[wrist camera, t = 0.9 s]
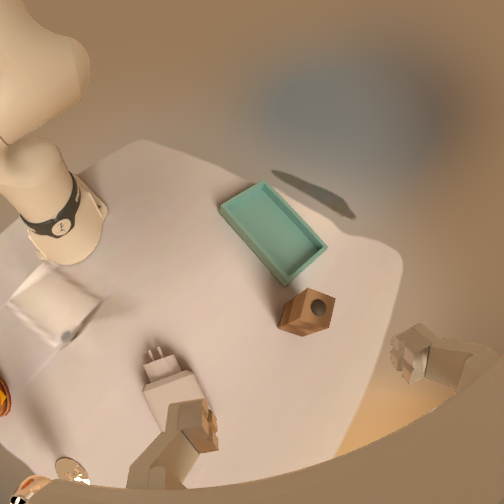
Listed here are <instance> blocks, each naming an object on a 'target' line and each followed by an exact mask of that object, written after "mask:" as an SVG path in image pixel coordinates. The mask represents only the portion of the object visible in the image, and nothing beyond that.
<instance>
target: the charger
mask: <svg viewBox="0 0 504 504" xmlns="http://www.w3.org/2000/svg"><path fill="white" fill-rule="evenodd" d="M157 349H158V351H159V354H160V356H161V359H159V360H156V361H155V359H154V357H153V355H152V352H151V350H148V353H149V355H150V358H151V360H152V362H150V363H148V364H145V365H143V366H144V369H145V371H146V373H147V376H148V378H149V380H150V383H149V384H146V385H145V386H144V389H143V391H142V393H143V395H144V398H145V400H146V402H147V404H148V406H149V408H150V410H151V412H152V414H153V416H154V418H155V420H156V422H157V424H158V426H159V428H160V430H161V432H165V426H166V419H167V412H168V406H169V404H170V403H177V402H182V401H189V400H195V399H202V398H204V399H206V397H205V395H204V393H203V391H202V389H201V387H200V385H199V383H198V381H197V378H196V376H195V374H194V373H193V372H191V371H188V370H184V371H181V369H180V367H179V364H178V362H177V360H176V358H175V355H174V354H173V355H170V356H167V357H164V355H163V353H162V350H161V348H160V346H158V347H157ZM206 401H207V399H206ZM207 403H208V401H207ZM208 409H210V410H212V409H211V407H210V405H209V403H208ZM212 412H213V411H212ZM214 416H215V415H214ZM215 418H216V417H215ZM216 421H217V419H216Z"/></svg>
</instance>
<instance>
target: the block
mask: <svg viewBox="0 0 504 504" xmlns="http://www.w3.org/2000/svg"><path fill="white" fill-rule="evenodd" d="M335 299H336V298H333V297H331V296H328V295H326V294H323V293H320V292H318V291H315V290H313V289H310V288H307V289H306V290H304V291H303V292H301V293H300V294H299V295H297V296H296V297H294V298H293V299H292V300H290V301H289V302H287V303H286V304H285V307H284V310H283V314H282V317H281V320H280V324H279V327H278V329H281V330H284V331H287V332H290V333H293V334H296V335H299V336H302V337H303V336H306V335H309V334H312V333H315V332H318V331H321V330H324V329H327V328H329V325H330V321H331V317H332V312H333V308H334V303H335Z"/></svg>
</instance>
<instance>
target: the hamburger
mask: <svg viewBox="0 0 504 504" xmlns="http://www.w3.org/2000/svg"><path fill="white" fill-rule="evenodd" d="M10 408H11V396H10V393H9V390H8V387H7V386H6V384H5V383H4V381H3V380H2V379H1V378H0V417H1V416H5V415H7V414H8V413H9V411H10Z"/></svg>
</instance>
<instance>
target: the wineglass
mask: <svg viewBox="0 0 504 504" xmlns="http://www.w3.org/2000/svg"><path fill="white" fill-rule="evenodd" d="M55 468H56V473H57V475H58V477H59V478H60V479H64V480H68V481H73V482H78V483H84V484H90V480H89V477H88V474H87V473H86V471H85V470H84V468H83V467H82V466H81V465H79V464H78V463H77V462H75V461H73V460H71V459H67V458H62V459H59V460H58V461H57V463H56V466H55ZM51 481H53V480H51V479H49V478H47V477H45V476H41V475H33V476H30V477H28V478H27V479H25V480H24V481H23V482H22V483H21V484H20V485H19V486H18V487H17V489H16V490H15V491H14V493H13V495H12V496H11V498H10V504H28V502H29V500H30V499H31V497H32V496H33V494H34V493H36V492H37V491H38V490H40V489H41V488H42V487H44V486H45V485H46V484H48V483H49V482H51Z"/></svg>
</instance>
